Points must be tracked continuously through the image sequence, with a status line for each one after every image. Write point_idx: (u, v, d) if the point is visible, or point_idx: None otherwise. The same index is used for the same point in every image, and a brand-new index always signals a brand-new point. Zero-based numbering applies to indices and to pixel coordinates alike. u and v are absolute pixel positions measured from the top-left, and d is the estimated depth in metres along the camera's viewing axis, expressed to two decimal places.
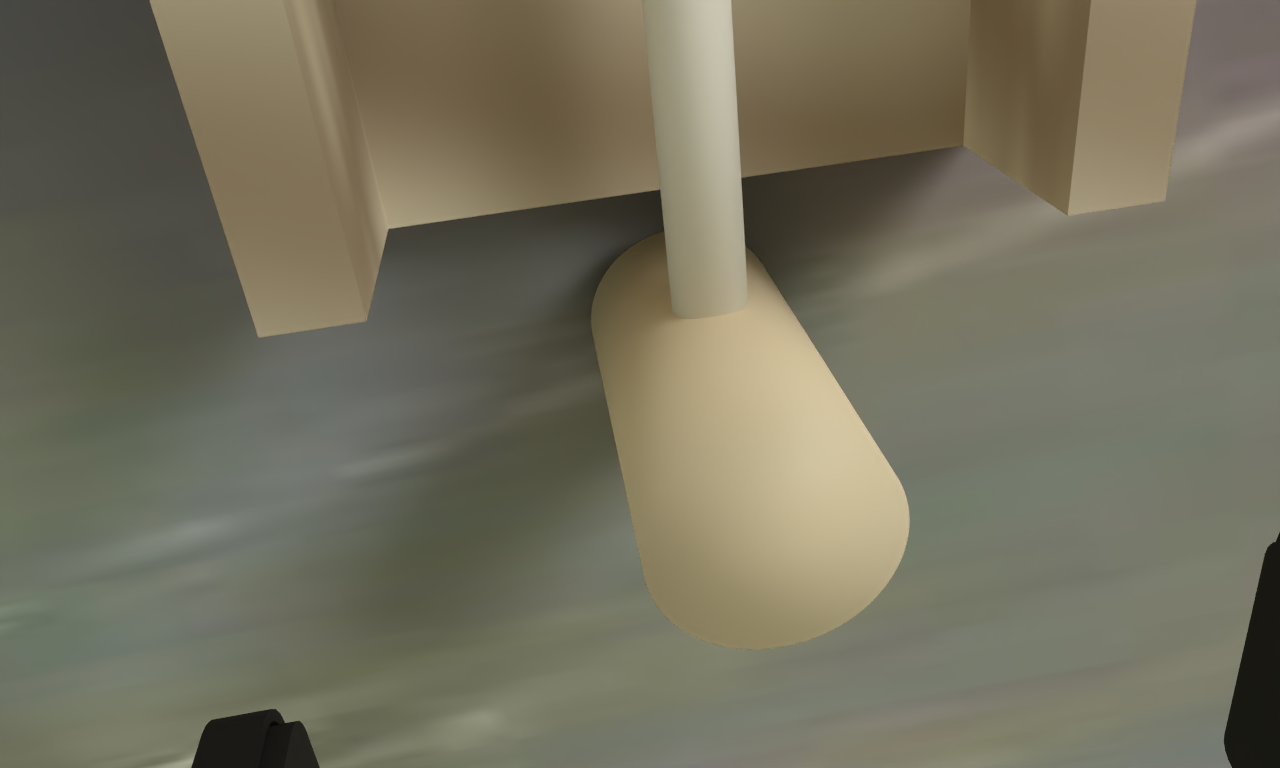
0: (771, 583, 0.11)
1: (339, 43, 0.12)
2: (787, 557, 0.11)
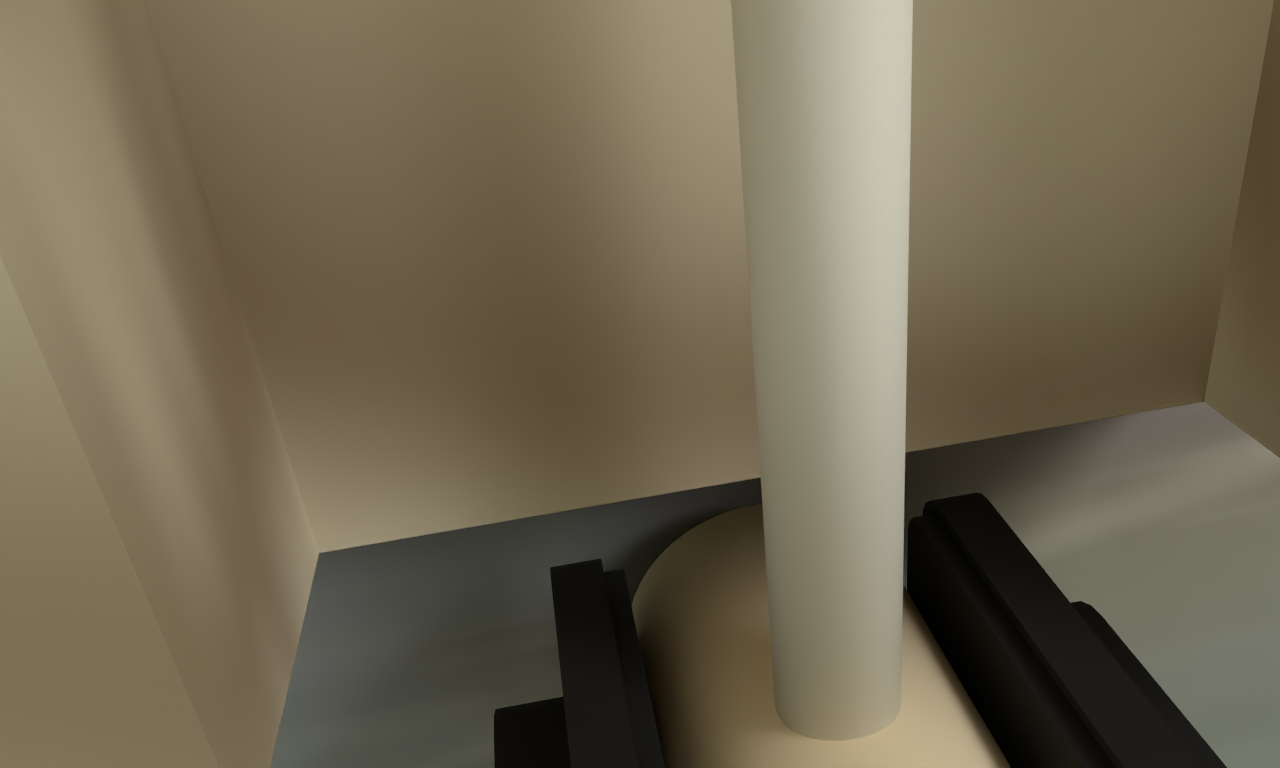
0: None
1: (223, 300, 0.07)
2: None
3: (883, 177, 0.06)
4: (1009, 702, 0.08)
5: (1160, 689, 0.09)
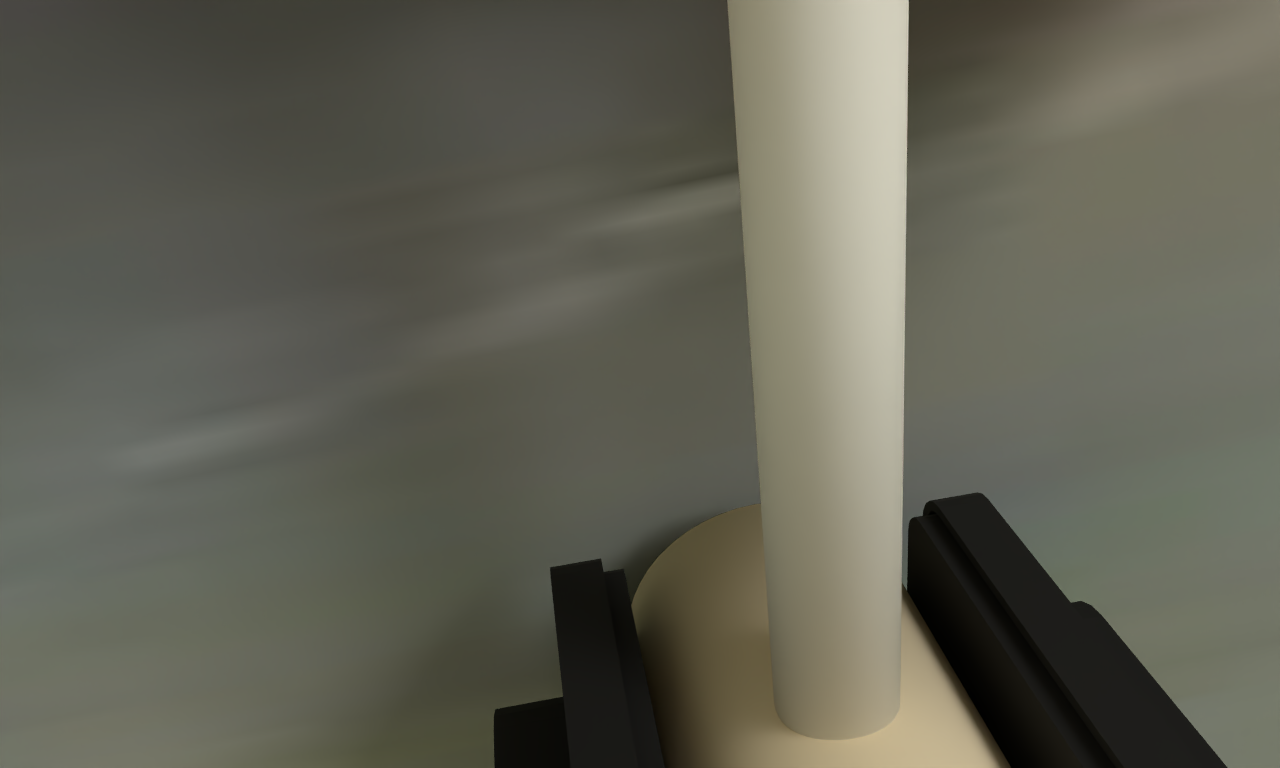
0: None
1: None
2: None
3: (882, 173, 0.06)
4: (1010, 702, 0.08)
5: (1161, 689, 0.09)
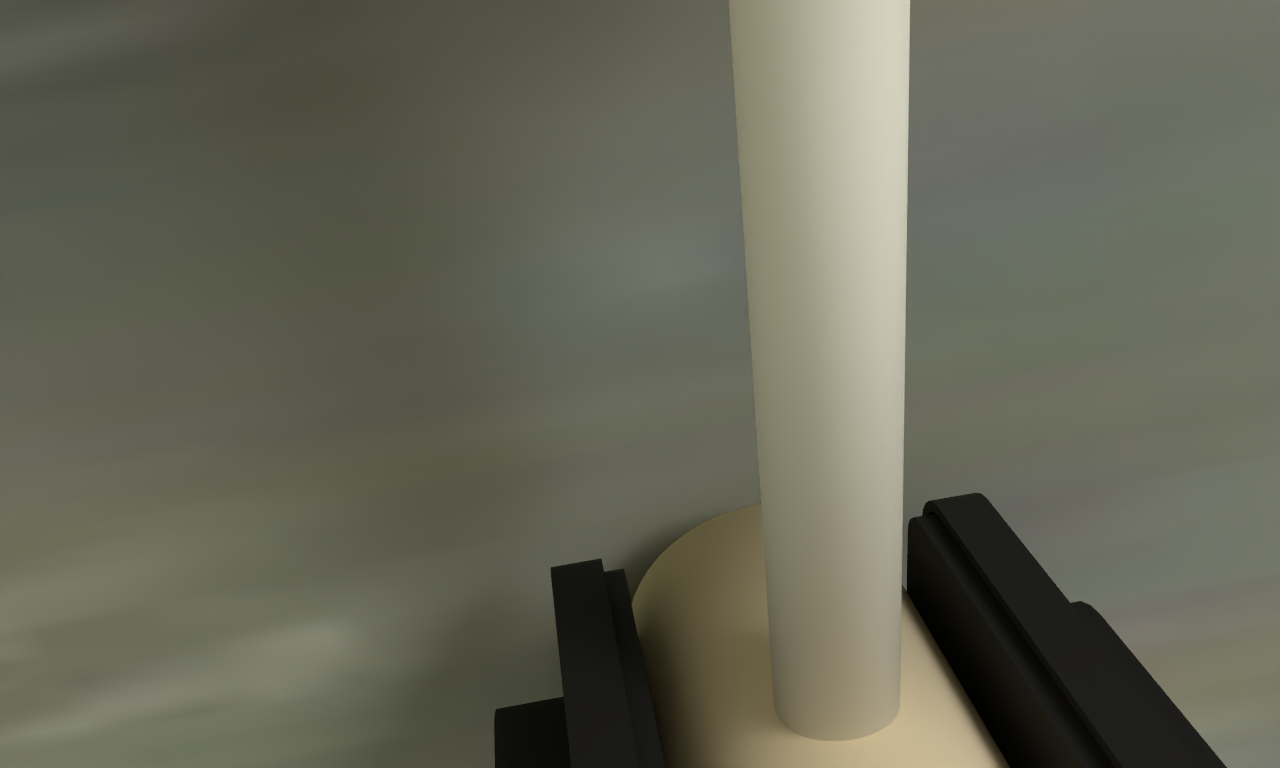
0: None
1: None
2: None
3: (882, 177, 0.06)
4: (1009, 702, 0.08)
5: (1160, 689, 0.09)
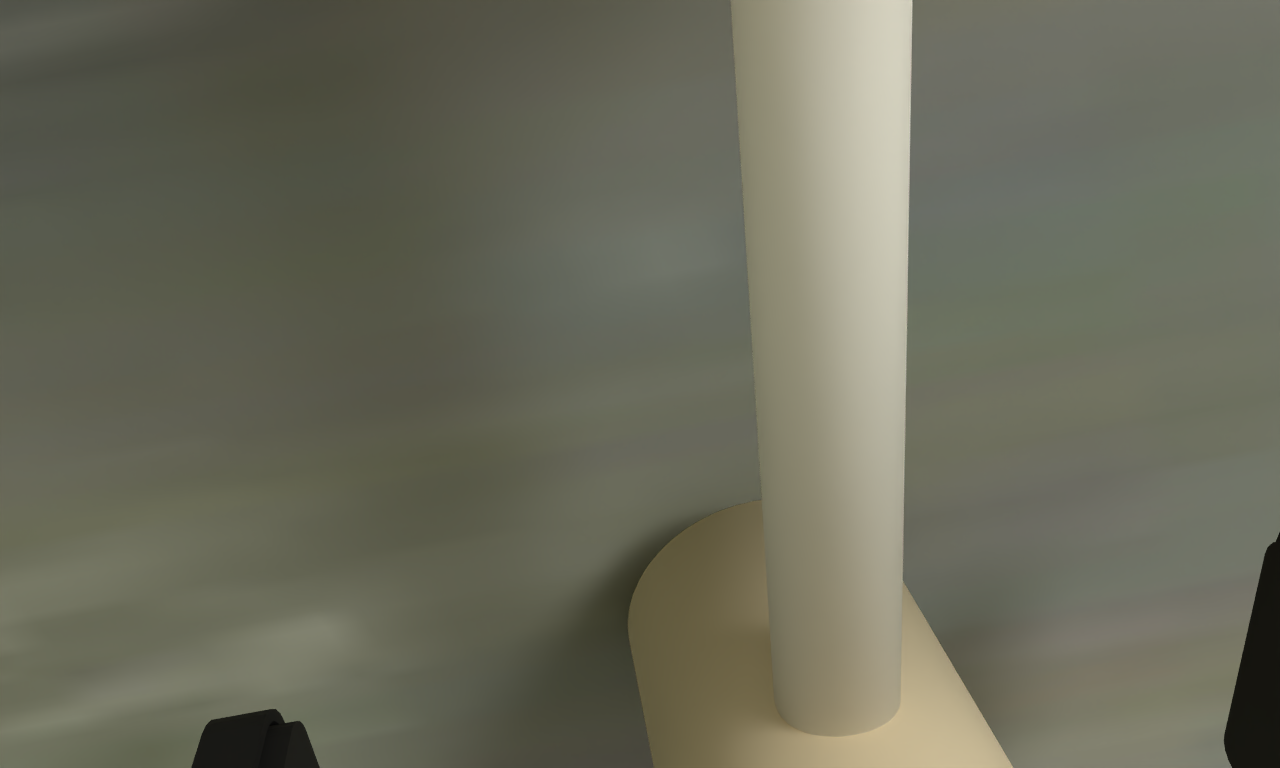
0: None
1: None
2: None
3: (883, 169, 0.06)
4: None
5: None
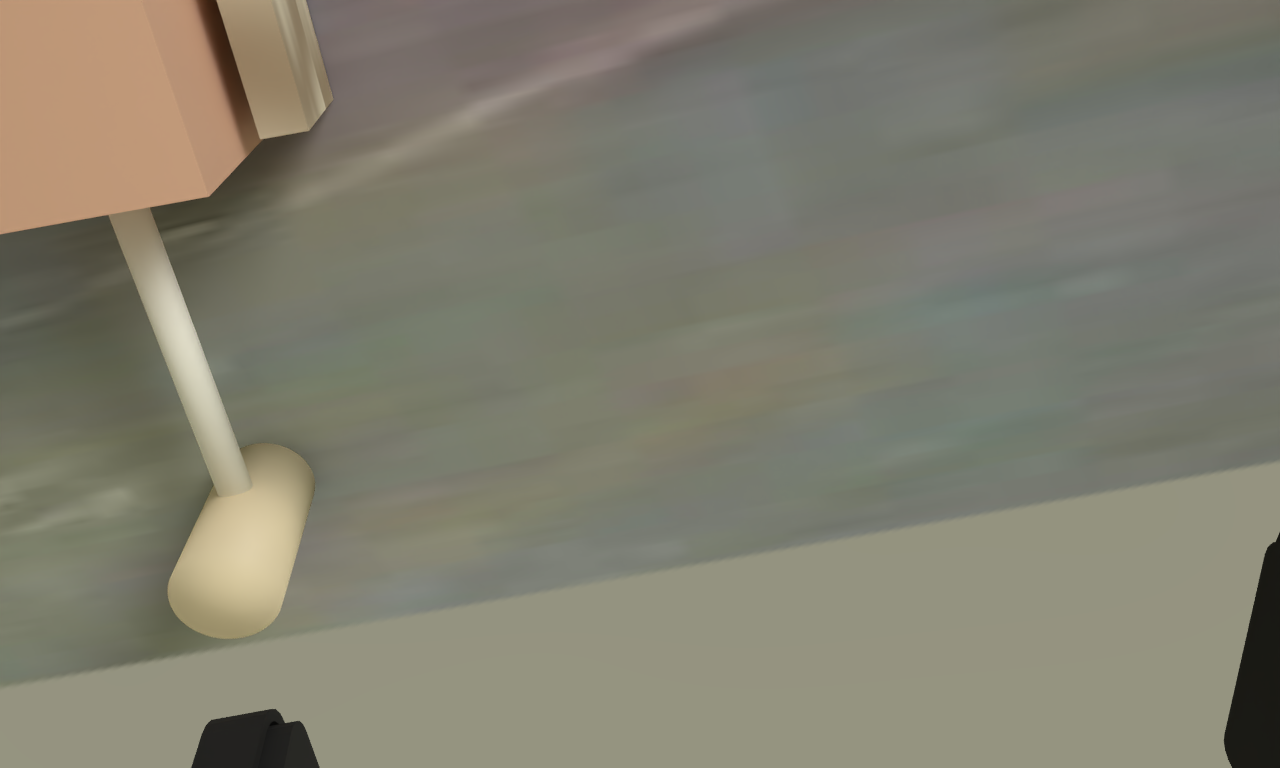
0: (228, 610, 0.28)
1: None
2: (231, 599, 0.28)
3: (187, 361, 0.28)
4: None
5: None
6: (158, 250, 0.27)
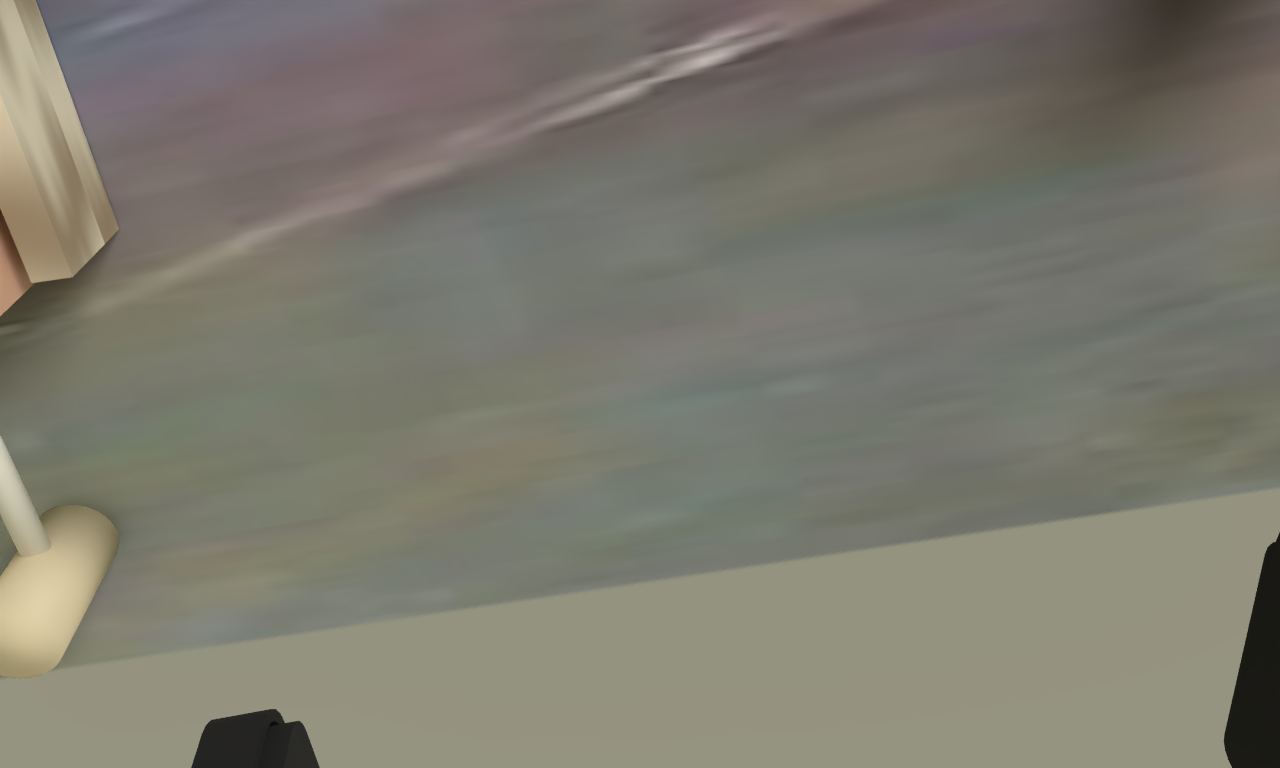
0: (17, 655, 0.34)
1: None
2: (20, 647, 0.34)
3: None
4: None
5: None
6: None
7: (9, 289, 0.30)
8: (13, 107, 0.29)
